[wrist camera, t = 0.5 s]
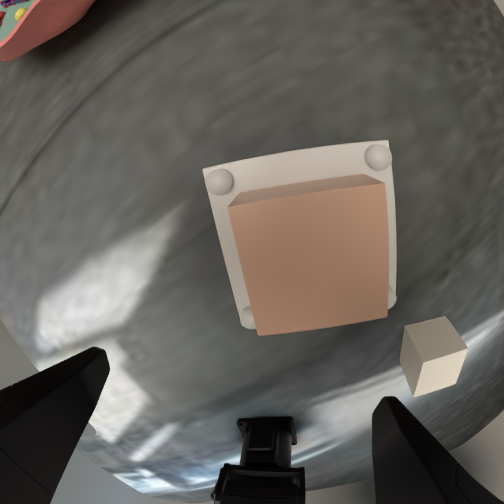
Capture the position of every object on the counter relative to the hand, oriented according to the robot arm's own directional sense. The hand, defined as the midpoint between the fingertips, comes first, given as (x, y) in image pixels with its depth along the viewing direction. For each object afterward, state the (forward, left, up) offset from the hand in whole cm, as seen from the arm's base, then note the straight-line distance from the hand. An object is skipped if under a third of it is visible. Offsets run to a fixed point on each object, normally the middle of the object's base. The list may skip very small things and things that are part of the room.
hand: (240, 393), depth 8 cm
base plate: (0, -3, -14) cm, 14 cm away
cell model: (+28, +12, -14) cm, 33 cm away
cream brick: (-12, -13, -14) cm, 22 cm away
